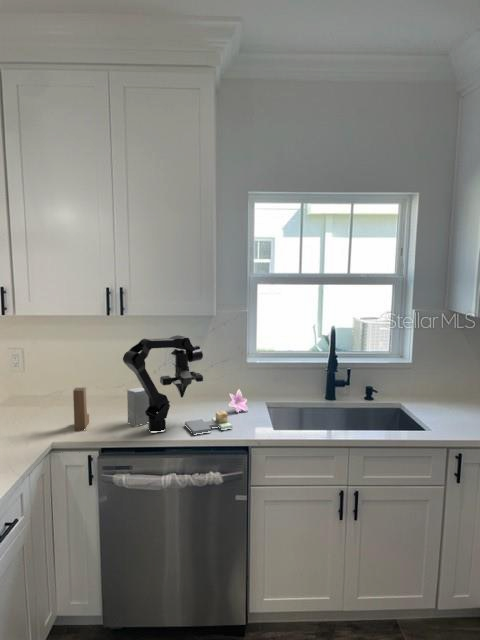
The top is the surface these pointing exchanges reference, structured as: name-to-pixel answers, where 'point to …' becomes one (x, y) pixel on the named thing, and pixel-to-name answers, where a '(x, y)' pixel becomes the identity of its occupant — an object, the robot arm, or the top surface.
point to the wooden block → (80, 409)
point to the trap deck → (205, 425)
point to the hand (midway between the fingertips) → (181, 397)
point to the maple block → (221, 417)
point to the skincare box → (137, 406)
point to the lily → (238, 401)
